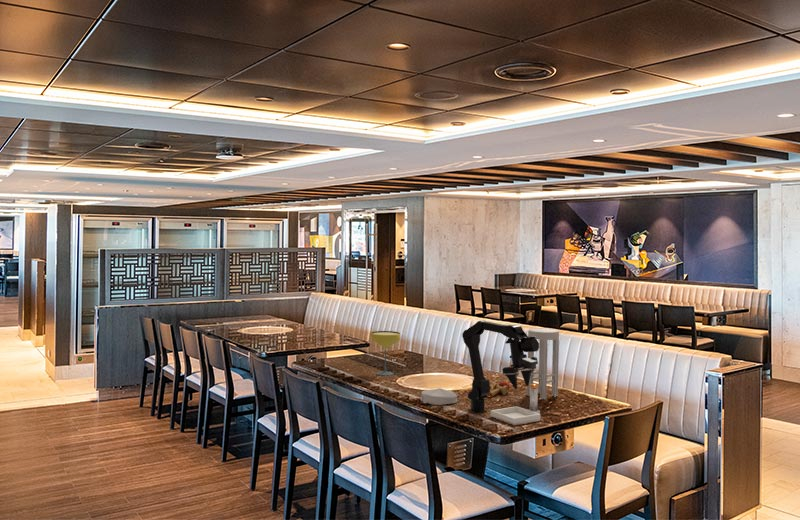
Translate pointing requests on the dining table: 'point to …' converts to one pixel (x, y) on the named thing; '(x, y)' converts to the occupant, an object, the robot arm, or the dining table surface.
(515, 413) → the pin tray
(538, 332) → the stool
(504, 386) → the kendama
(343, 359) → the dining table surface
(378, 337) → the cocktail glass
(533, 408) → the pin
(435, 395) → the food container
